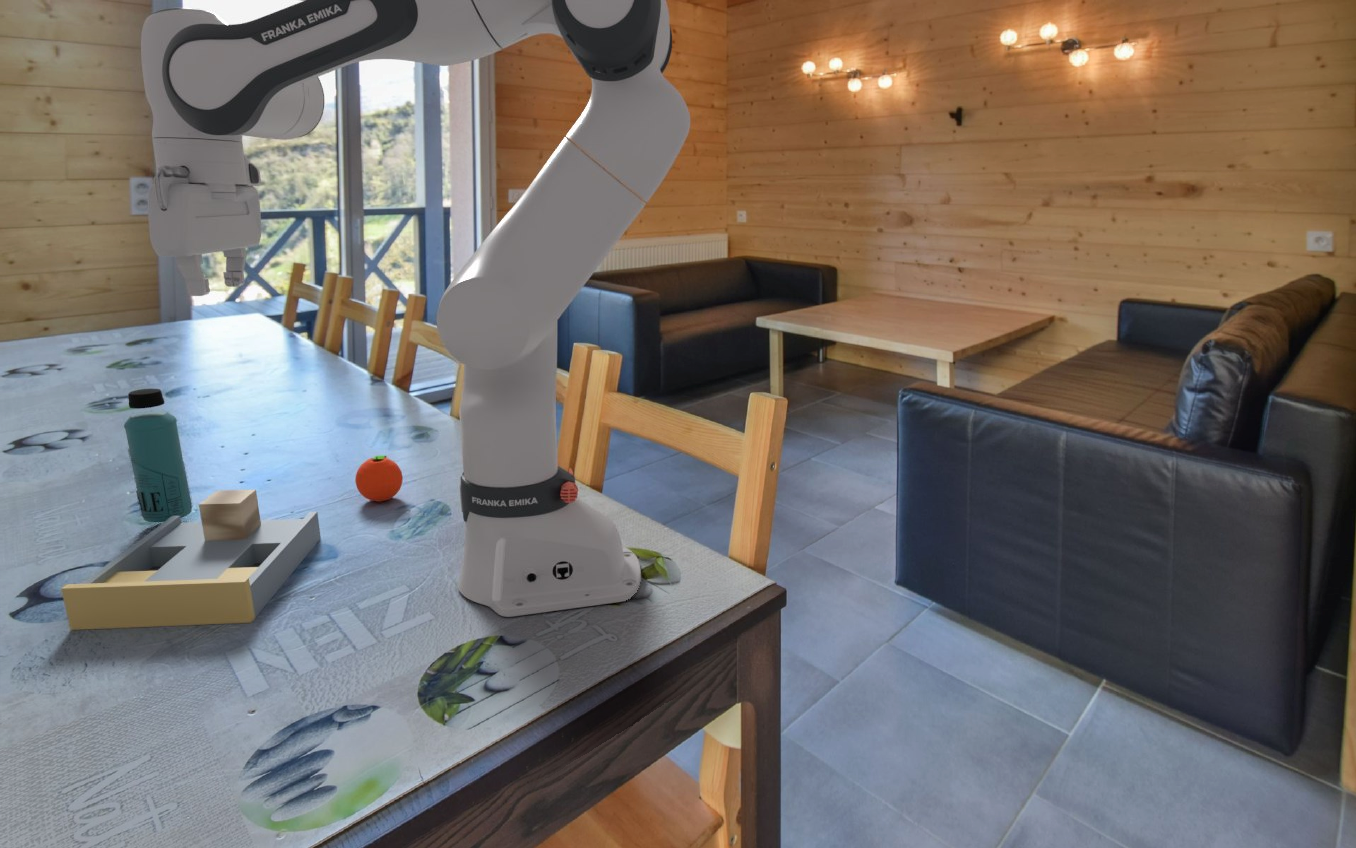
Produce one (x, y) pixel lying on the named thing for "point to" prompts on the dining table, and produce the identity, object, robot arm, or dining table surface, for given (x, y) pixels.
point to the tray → (191, 576)
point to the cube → (230, 515)
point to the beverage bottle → (156, 459)
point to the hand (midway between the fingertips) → (218, 290)
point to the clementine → (379, 479)
